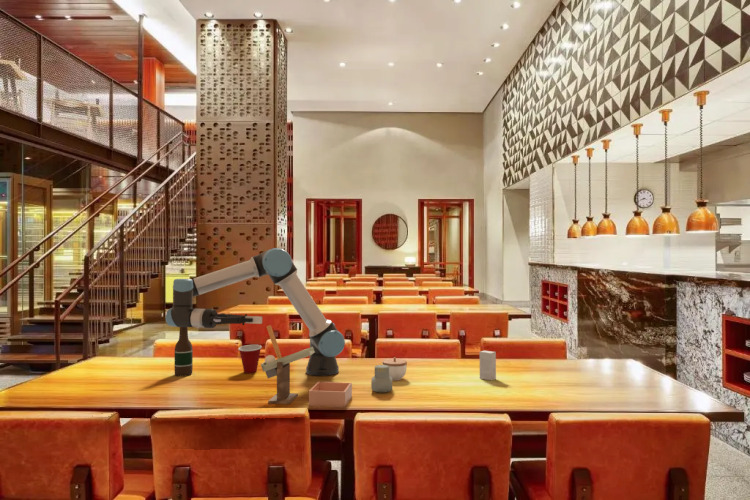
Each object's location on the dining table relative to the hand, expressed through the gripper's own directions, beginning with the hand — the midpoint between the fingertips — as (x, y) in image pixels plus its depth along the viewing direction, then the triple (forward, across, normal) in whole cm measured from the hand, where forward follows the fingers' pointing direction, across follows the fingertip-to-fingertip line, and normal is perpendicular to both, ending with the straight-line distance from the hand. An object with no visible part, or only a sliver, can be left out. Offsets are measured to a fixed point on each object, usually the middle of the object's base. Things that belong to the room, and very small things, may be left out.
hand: (261, 320), depth 201 cm
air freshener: (+47, -11, -29) cm, 56 cm away
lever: (+15, +5, -17) cm, 23 cm away
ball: (+6, +6, -14) cm, 17 cm away
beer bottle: (-47, -27, -30) cm, 62 cm away
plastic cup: (-18, -36, -29) cm, 50 cm away
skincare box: (+91, -36, -28) cm, 102 cm away
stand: (+12, +6, -29) cm, 32 cm away
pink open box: (+30, +6, -29) cm, 42 cm away
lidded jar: (+50, -31, -28) cm, 66 cm away
